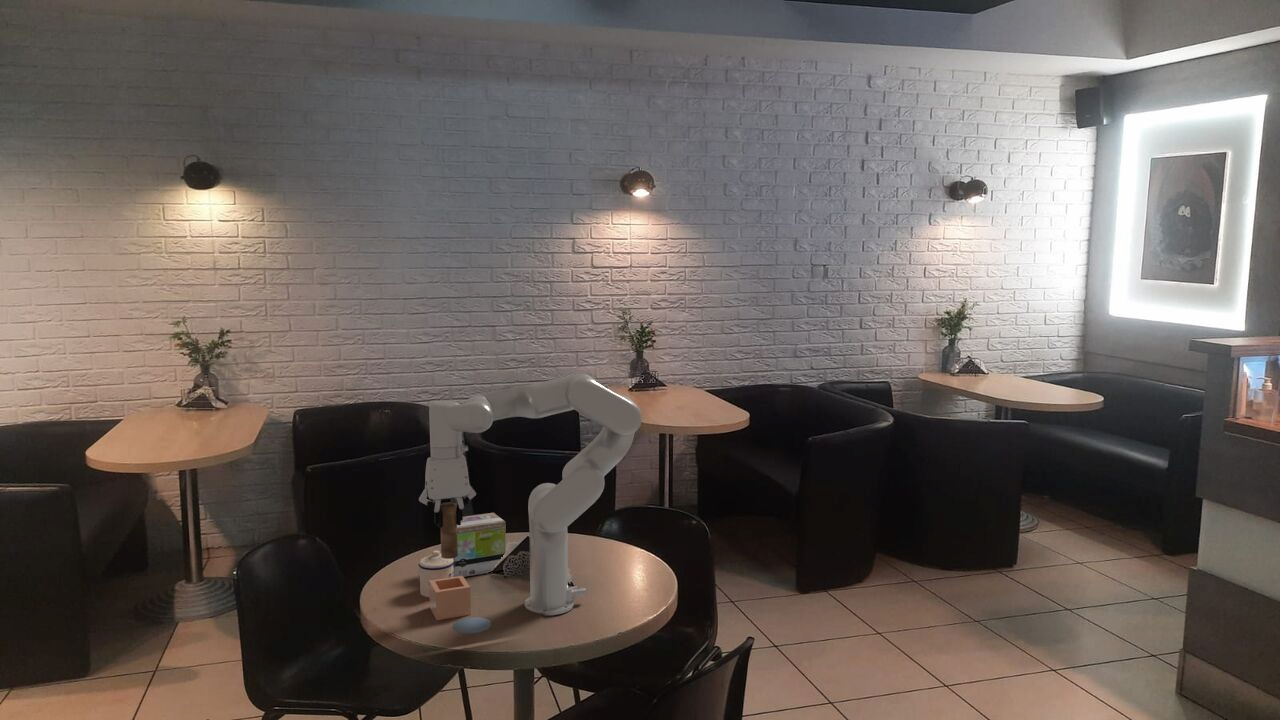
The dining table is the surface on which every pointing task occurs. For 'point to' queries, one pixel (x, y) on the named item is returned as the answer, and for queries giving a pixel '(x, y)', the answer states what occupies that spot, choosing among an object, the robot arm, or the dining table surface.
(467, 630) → the slate coaster
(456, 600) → the terracotta cup
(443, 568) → the teacup with lid
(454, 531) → the walnut pin
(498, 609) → the dining table surface
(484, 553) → the tea box
